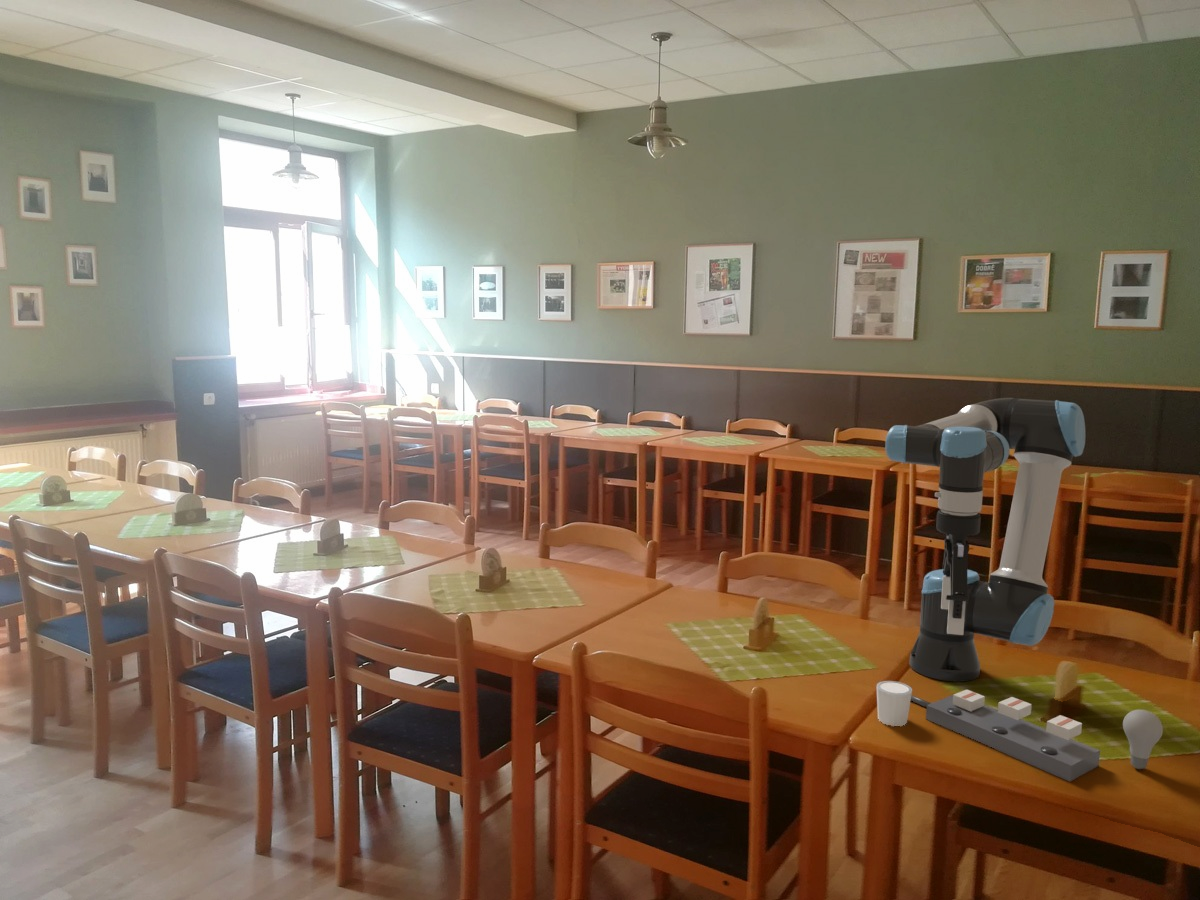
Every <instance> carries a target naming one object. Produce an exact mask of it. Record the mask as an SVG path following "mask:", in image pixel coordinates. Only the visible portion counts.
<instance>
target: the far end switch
mask: <svg viewBox="0 0 1200 900" xmlns="http://www.w3.org/2000/svg"><path fill="white" fill-rule="evenodd" d="M1082 728H1083V723H1082V722H1080V721H1077V720H1074V719H1072V718H1069V717H1066V716H1064V715H1061V714H1059V715H1057V716H1056V717H1053V718H1051V719H1049V720H1047V721H1046V728H1045V729H1046V732H1048V733H1051V734H1054V735H1056V736H1059V737H1061V738H1064V739H1066V740H1069V739H1074V738H1076V737H1077V736H1079V735H1081V734H1082Z"/></svg>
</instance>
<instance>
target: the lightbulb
mask: <svg viewBox="0 0 1200 900" xmlns="http://www.w3.org/2000/svg"><path fill="white" fill-rule="evenodd" d="M1122 727H1123V731H1124V734H1125V736H1126V738H1127V740H1128V746H1129V753H1130V764H1131V766H1133V767H1134V769H1137V770H1142V769H1143V770H1144V769H1146V768H1147V766H1148V761H1149V758H1150V757H1151V753H1152V750H1153V748H1154V746H1155V745H1156V744H1157V743H1158V742H1159V741H1160V740H1161V738H1162V736H1163V731H1164V729H1163V728H1164V727H1163V724H1162V721H1161V720H1160V719H1159V717H1158V716H1157V715H1156V714H1154V712H1153V713H1152V712H1151V711H1149V710H1147V709H1134V710H1132V711H1129V712H1128V713H1127V714H1126V715H1125V716H1124V718H1123V721H1122Z"/></svg>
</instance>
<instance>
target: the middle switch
mask: <svg viewBox="0 0 1200 900" xmlns="http://www.w3.org/2000/svg"><path fill="white" fill-rule="evenodd" d="M1032 706H1033V705H1032V703H1029V702H1027V701H1024V700H1022V699H1019V698H1017V697H1013V696H1010V697H1009V698H1005V699H1003V700H1001V701H999V702H998V704H997V710H998V713H1001V714H1003V715H1006V716H1008V717H1011V718H1013V719H1016V720H1019V719H1024V718H1025V717H1027V716H1029V715H1032Z"/></svg>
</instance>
